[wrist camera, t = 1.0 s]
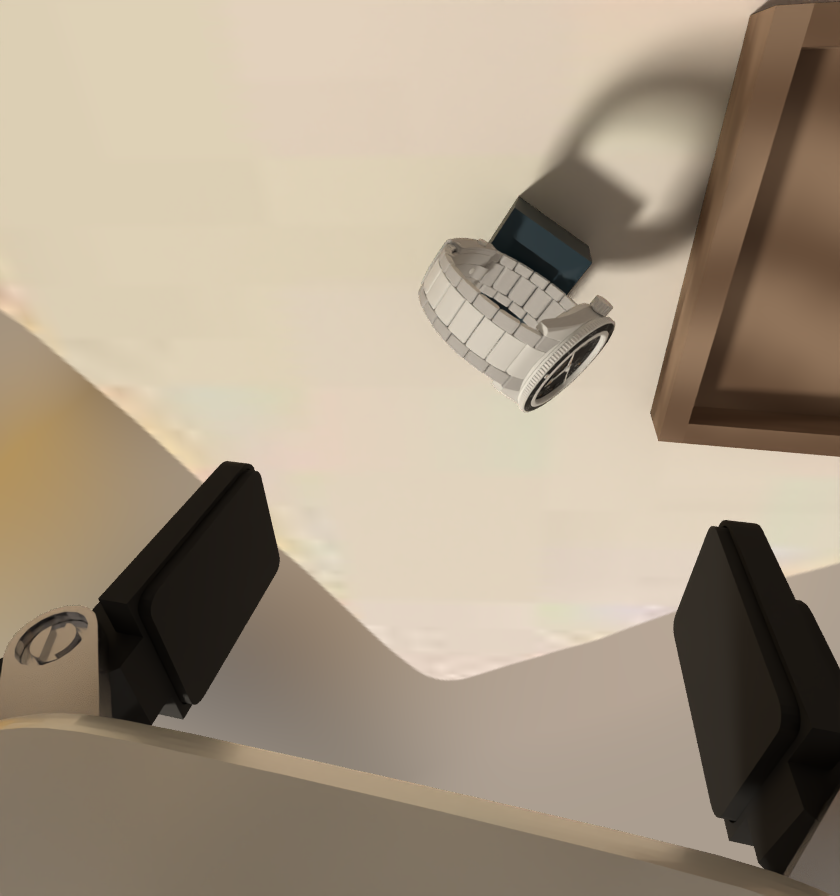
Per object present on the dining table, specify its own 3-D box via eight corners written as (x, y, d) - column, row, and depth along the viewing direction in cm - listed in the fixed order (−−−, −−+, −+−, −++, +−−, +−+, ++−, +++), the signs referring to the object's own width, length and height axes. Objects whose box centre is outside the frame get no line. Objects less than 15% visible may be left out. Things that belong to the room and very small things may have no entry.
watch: (550, 351, 30) (548, 461, 21) (431, 270, 29) (375, 350, 20) (620, 267, 27) (653, 354, 18) (490, 173, 26) (455, 216, 17)
